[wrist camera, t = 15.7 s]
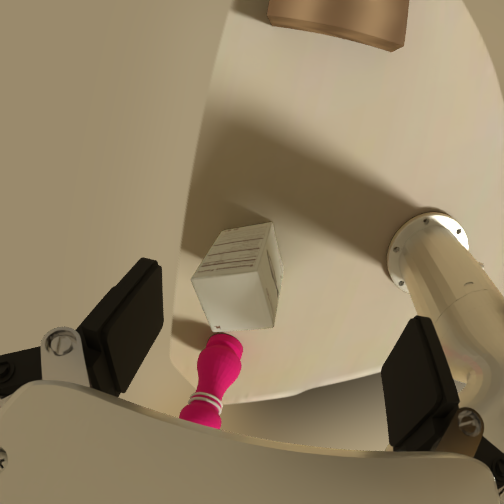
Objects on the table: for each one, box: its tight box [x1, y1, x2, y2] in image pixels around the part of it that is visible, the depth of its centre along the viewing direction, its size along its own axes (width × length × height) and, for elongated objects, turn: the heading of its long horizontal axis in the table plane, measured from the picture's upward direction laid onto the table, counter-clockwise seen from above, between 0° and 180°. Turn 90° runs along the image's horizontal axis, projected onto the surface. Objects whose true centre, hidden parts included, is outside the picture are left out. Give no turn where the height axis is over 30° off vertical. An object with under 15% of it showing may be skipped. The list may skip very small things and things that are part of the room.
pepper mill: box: [179, 334, 243, 429], centre depth 43 cm, size 7×7×20 cm
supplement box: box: [191, 222, 284, 332], centre depth 37 cm, size 7×7×13 cm
